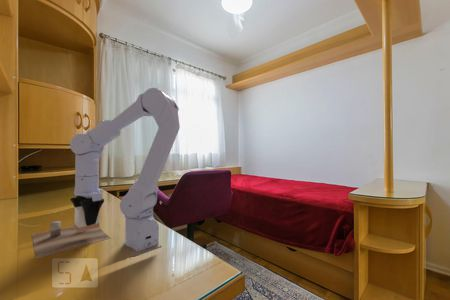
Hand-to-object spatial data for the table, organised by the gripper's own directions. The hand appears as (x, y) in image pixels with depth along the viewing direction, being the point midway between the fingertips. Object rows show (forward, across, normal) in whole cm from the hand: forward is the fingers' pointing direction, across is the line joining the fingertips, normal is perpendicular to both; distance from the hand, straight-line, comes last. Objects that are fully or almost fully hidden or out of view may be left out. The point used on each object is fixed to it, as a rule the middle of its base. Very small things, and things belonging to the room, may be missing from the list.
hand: (86, 222), depth 59 cm
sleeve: (+2, 0, 0) cm, 2 cm away
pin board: (+6, +5, +2) cm, 8 cm away
